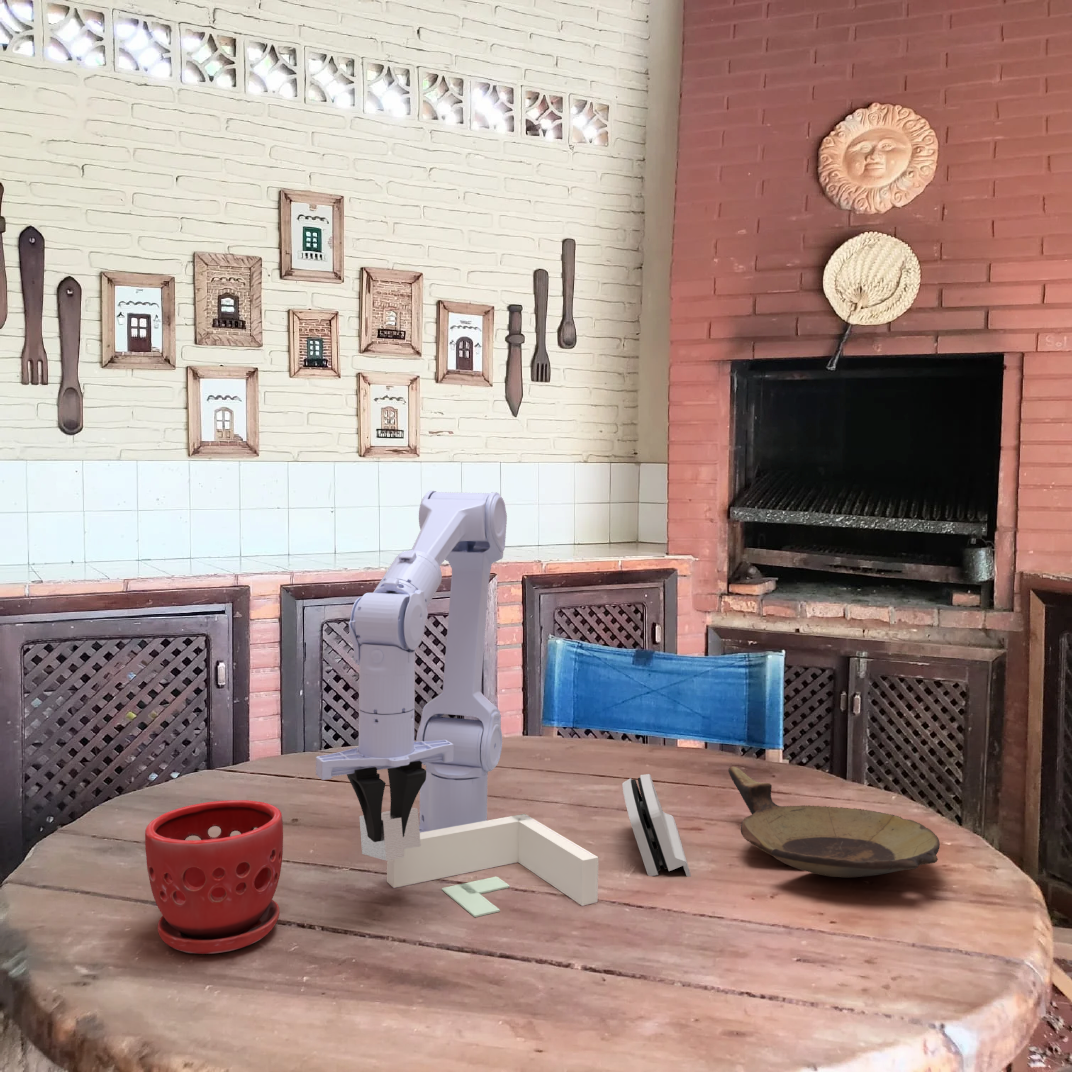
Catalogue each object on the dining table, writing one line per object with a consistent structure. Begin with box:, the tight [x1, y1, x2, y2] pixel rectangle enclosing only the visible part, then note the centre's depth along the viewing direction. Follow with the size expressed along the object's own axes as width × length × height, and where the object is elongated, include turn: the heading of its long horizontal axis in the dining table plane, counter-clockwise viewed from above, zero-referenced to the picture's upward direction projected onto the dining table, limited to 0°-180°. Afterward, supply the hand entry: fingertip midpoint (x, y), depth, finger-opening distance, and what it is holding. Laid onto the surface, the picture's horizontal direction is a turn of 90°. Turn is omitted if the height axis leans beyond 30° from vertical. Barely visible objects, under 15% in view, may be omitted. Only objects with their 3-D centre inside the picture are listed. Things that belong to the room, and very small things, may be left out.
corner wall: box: [386, 813, 599, 907], centre depth 113 cm, size 16×18×5 cm
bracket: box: [359, 807, 421, 862], centre depth 108 cm, size 7×6×4 cm
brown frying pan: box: [727, 765, 941, 879], centre depth 125 cm, size 22×30×8 cm
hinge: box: [621, 773, 692, 878], centre depth 127 cm, size 17×5×10 cm, turn 178°
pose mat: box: [441, 876, 511, 918], centre depth 112 cm, size 8×7×1 cm
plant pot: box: [144, 799, 284, 955], centre depth 102 cm, size 13×13×12 cm
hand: (385, 836), depth 106 cm, fingers closed on bracket, 2 cm apart
